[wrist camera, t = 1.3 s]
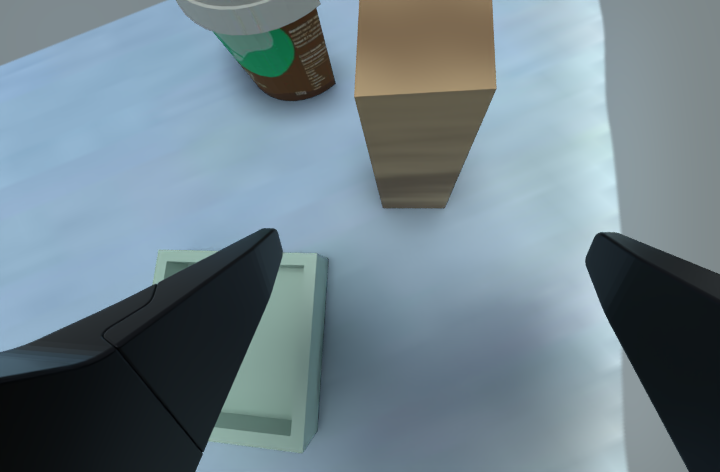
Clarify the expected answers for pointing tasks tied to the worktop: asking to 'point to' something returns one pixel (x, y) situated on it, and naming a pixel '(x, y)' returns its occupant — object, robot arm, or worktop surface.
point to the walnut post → (422, 92)
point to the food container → (270, 42)
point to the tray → (274, 357)
